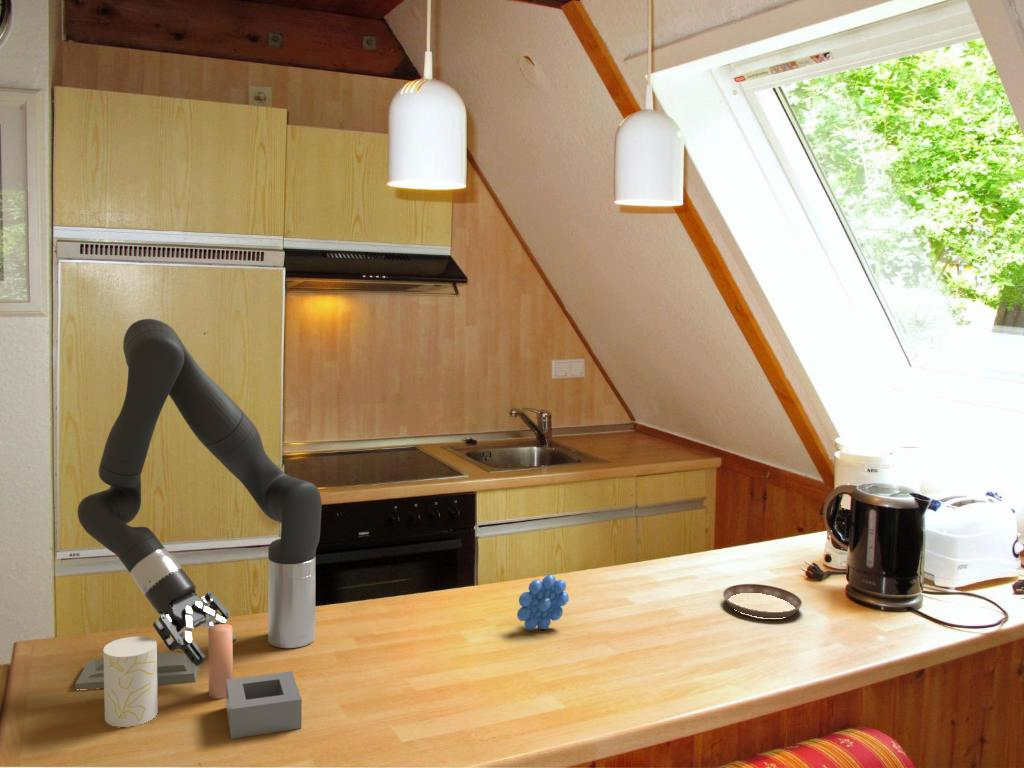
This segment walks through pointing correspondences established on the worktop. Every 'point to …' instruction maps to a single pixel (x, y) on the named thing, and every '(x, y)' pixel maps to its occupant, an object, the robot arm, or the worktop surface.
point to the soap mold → (168, 671)
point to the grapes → (542, 602)
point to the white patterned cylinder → (130, 681)
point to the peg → (220, 659)
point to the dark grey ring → (766, 590)
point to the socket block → (263, 704)
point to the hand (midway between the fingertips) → (217, 653)
